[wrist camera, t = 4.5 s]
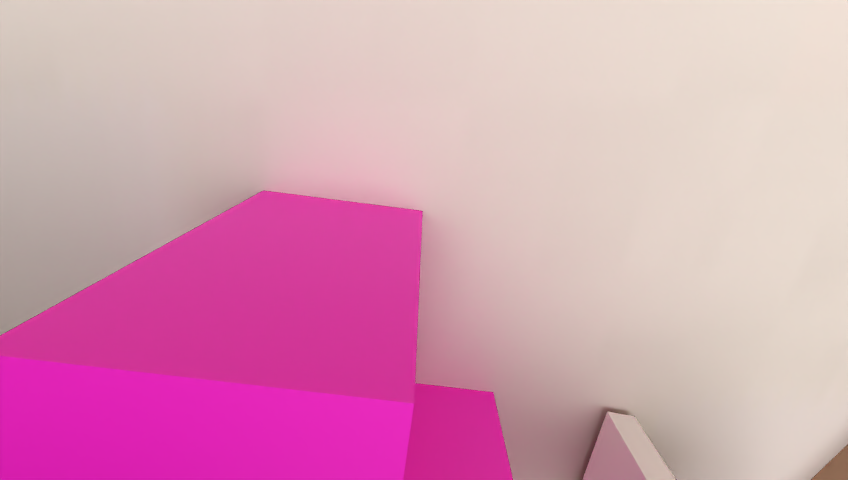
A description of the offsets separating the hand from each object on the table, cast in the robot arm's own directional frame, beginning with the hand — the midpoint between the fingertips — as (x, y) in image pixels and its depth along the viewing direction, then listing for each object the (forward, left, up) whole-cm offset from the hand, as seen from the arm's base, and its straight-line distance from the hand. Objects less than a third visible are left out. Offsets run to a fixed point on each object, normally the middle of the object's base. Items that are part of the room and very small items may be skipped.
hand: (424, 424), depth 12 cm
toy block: (-1, -2, -1) cm, 2 cm away
